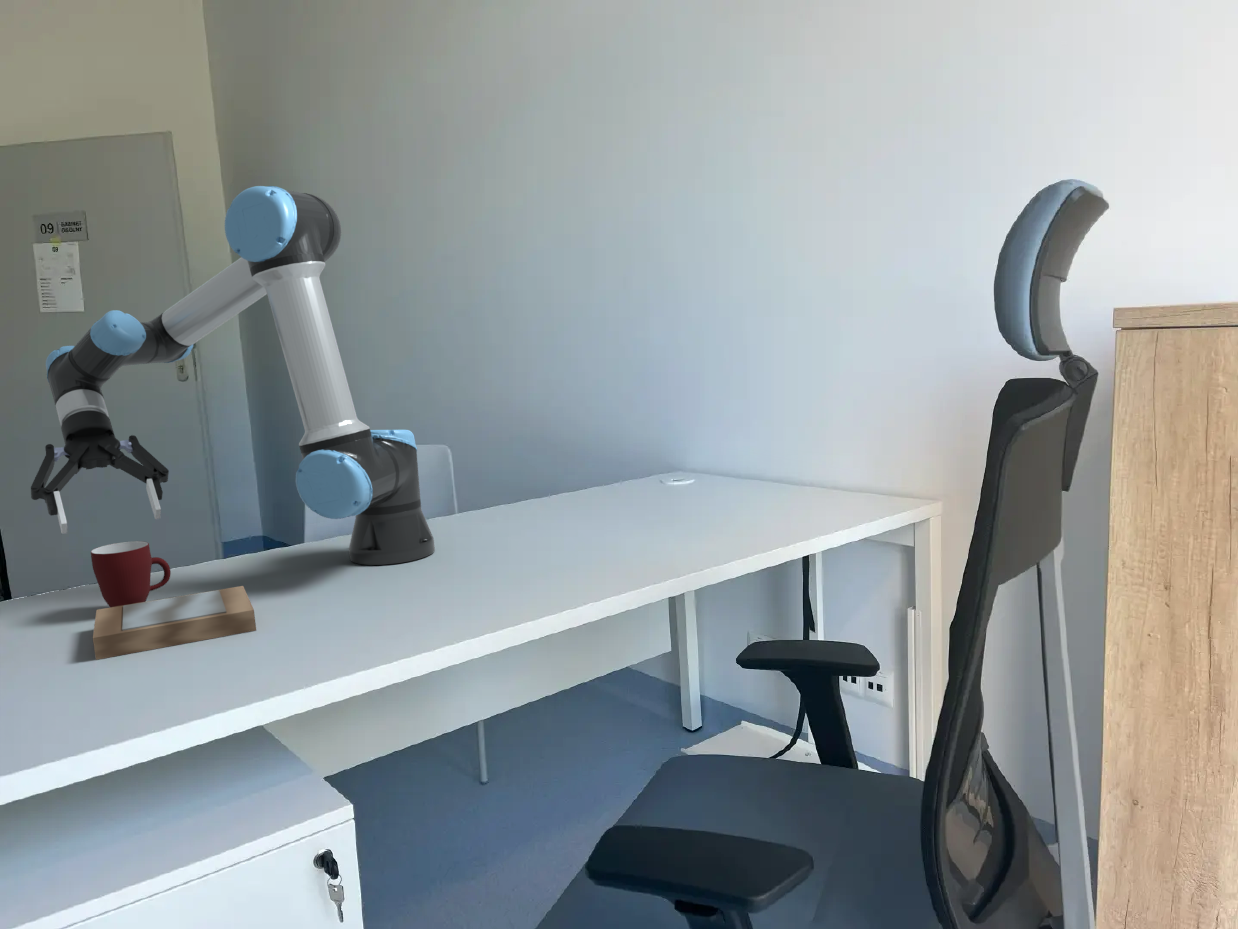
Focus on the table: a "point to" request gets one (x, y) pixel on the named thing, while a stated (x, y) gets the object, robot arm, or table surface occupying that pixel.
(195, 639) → the plinth
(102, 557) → the mug
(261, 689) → the table surface
